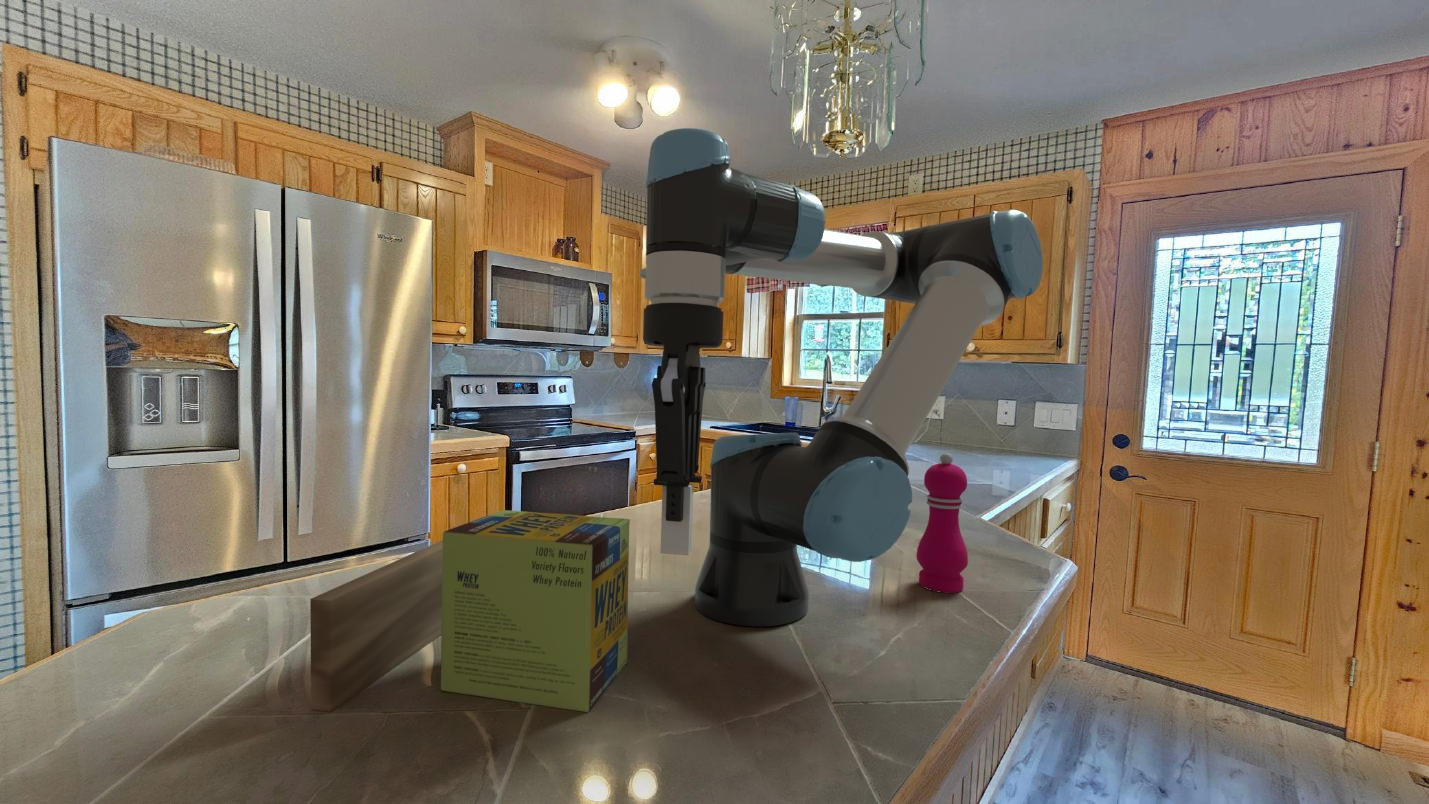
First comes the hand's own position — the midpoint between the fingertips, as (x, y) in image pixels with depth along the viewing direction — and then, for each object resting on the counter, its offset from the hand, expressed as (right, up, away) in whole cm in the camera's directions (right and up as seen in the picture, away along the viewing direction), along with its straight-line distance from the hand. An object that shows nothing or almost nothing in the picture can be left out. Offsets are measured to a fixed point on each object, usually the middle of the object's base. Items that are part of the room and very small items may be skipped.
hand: (676, 551), depth 60 cm
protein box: (-14, -14, +3) cm, 20 cm away
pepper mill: (+37, -13, +33) cm, 52 cm away
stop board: (-30, -13, +6) cm, 33 cm away
